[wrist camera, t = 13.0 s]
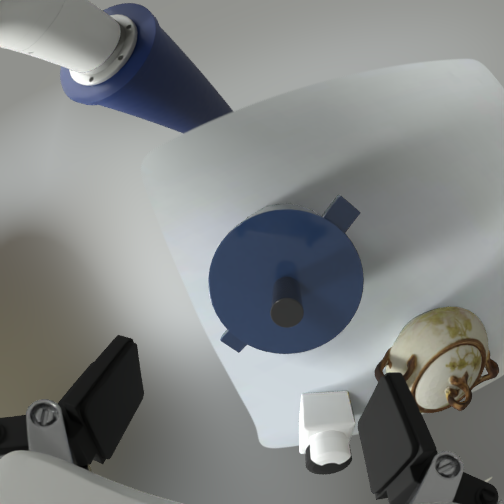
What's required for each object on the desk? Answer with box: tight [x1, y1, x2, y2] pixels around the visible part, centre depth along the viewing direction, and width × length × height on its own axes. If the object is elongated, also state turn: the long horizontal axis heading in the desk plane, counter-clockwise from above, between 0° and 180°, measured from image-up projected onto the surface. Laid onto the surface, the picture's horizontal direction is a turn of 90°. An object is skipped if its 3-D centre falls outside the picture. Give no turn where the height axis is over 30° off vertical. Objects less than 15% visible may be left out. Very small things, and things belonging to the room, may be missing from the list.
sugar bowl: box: [375, 307, 499, 413], centre depth 27 cm, size 20×15×15 cm
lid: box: [209, 208, 364, 354], centre depth 23 cm, size 14×14×6 cm
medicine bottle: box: [299, 391, 355, 474], centre depth 33 cm, size 7×7×12 cm
